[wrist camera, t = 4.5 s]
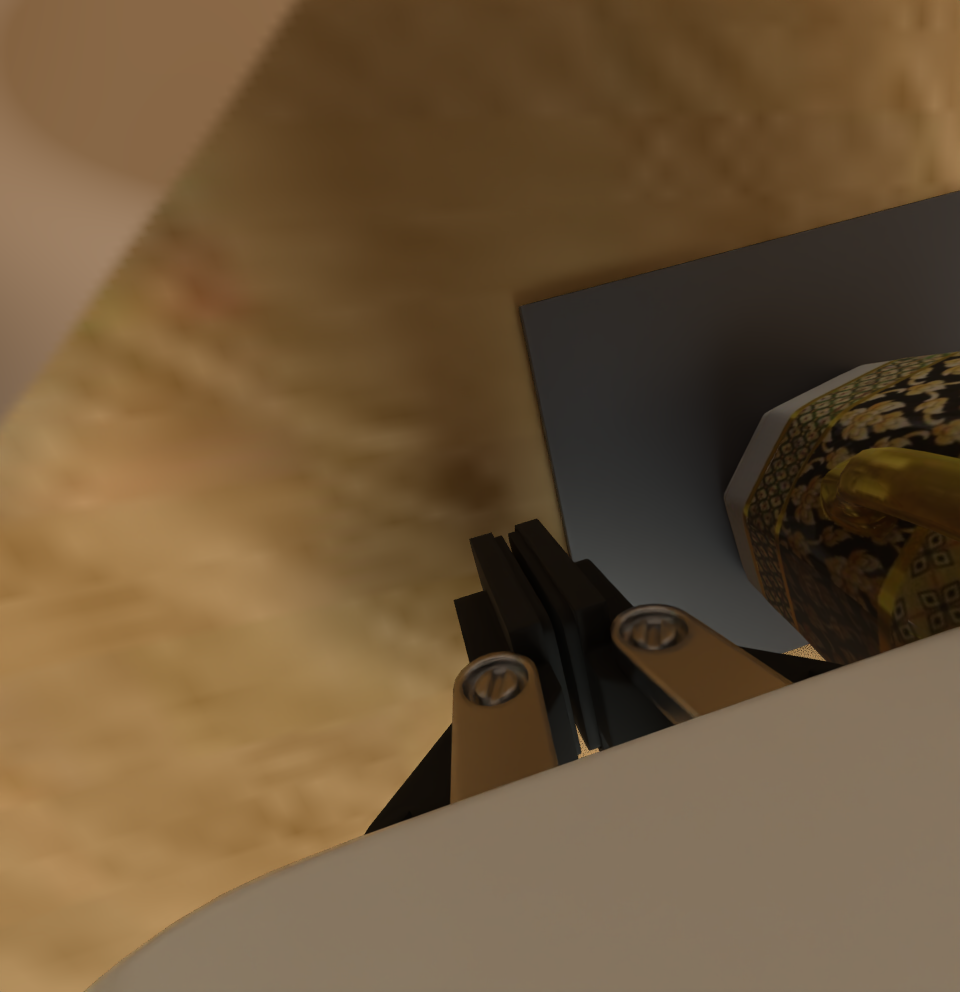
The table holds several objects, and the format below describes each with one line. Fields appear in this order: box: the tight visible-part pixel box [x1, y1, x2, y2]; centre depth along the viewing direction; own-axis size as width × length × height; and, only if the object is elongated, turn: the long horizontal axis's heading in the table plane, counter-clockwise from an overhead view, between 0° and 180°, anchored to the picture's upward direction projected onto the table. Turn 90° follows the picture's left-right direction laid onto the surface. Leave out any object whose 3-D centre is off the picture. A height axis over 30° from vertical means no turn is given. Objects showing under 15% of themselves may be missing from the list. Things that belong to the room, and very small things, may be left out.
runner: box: [519, 191, 960, 654], centre depth 14 cm, size 12×24×1 cm, turn 104°
